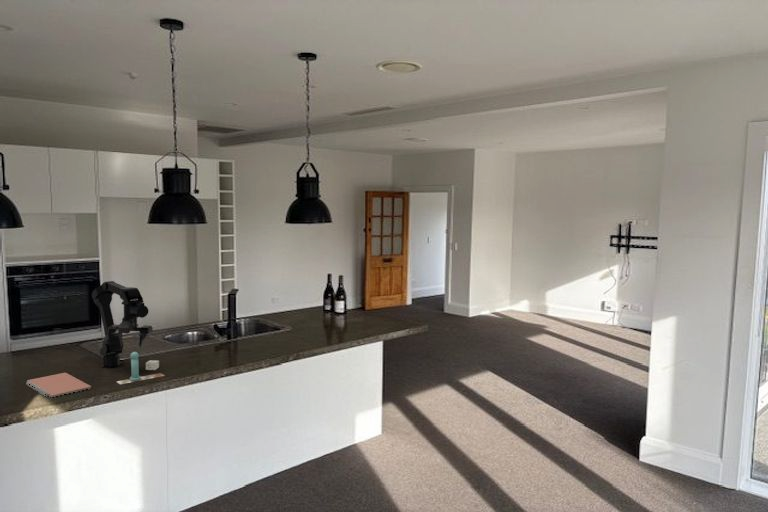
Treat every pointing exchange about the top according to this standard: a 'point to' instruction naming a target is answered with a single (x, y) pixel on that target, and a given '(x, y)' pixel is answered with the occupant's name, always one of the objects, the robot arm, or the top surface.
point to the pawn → (134, 367)
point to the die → (152, 365)
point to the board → (141, 378)
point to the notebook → (57, 385)
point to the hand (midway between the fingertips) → (130, 346)
